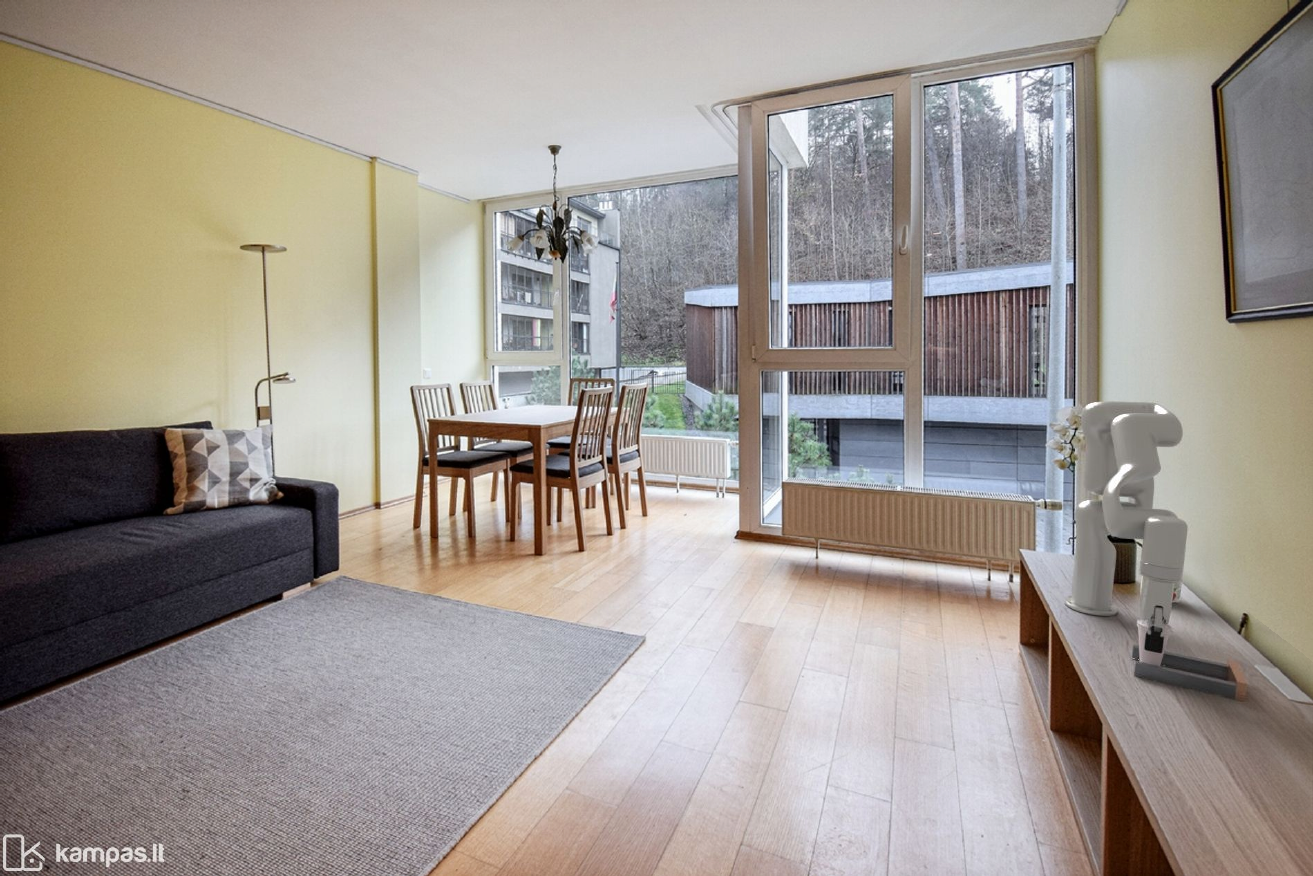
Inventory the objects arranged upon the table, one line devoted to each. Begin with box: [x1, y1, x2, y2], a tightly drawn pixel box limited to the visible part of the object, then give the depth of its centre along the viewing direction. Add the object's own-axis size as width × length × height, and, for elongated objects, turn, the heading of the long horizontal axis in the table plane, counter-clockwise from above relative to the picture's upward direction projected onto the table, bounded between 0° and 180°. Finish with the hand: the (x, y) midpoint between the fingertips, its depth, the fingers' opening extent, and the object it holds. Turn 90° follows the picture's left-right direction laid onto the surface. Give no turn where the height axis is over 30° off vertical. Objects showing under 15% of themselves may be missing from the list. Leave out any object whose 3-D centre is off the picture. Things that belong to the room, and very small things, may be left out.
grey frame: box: [1131, 644, 1248, 703], centre depth 142 cm, size 12×19×4 cm, turn 55°
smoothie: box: [1136, 609, 1173, 666], centre depth 144 cm, size 6×6×14 cm
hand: (1152, 645), depth 145 cm, fingers closed on smoothie, 6 cm apart
